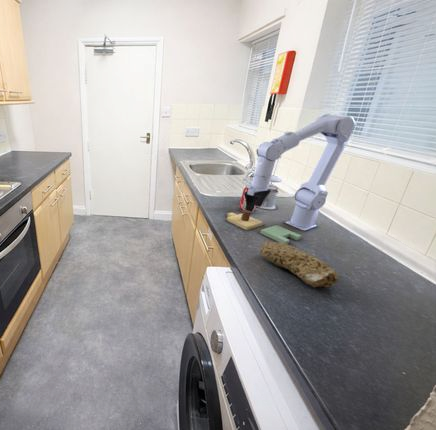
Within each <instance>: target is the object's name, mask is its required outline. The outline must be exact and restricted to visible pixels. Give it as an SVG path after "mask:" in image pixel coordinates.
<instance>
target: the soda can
mask: <svg viewBox="0 0 436 430" xmlns="http://www.w3.org/2000/svg"><path fill="white" fill-rule="evenodd" d="M248 189H250V186H248V184H247V185H245V187H244V188H243V190H242V193H241V198H240V202H239V207H238V209H239V210H240V211H241V213H243V210H246V199H245V196H244V193H245V192H246V191H247V192H248ZM256 209H257V206H255V207H254V209H253V211H252V212H251V214H252V213H254V212H255V211H256Z"/></svg>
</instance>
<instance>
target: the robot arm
mask: <svg viewBox="0 0 436 430" xmlns="http://www.w3.org/2000/svg"><path fill="white" fill-rule="evenodd" d="M356 126H357V123H356V121H355V118H354V117H353V116H351V115H346V116H345V115H336V114H335V115H334V114H330V113H326V114H323V115H322V116H319V117H317V118H316V120H315V121H313V122H311V123H310V124H308V125H306V126H305V127H302V128H301V129H299V130H297V131H296V132H294V131H285V132H284V134H283V135H280V136H279V137H275V138H273V139H272V140H271V141H264V142H262V143H261V144H260V145H258V147H257V148H256V150H255V152H256V153H255V154H256V155H257V158H256V160H257V162H256V166H255V169H254V173H253V178H252V180H251V181H252V182H251V183H248V184H247V185H248V186H250V189H248V192H247V191H246V192H245V193H244V196H245V199H246V210H248V211H251V212H252V211H253V209H254V207H255V206H256V207H257V206H259V207H261V205H262V203H263V202H264V200H265V198H266V197H267V195H268V194H269V193H270V192H271V190H269V189H268V188H269V185H271V182H270V178H271V175H272V174H273V171H274V169H275V164H276V161H278V159H281V158H280V156H281V157H282V155H283V154H284V153H285V152H288V151H290V150H292V149H294V148H296V147H298V146H299V145H300V142H302V141H303V140H306V139H308V138H311V137H313V136H315V135H317V134H321V135H322V136H323V137H325V139H326V142H327V144H326V146H325V147H324V150H323V152H322V154H321V155H320V157H319V160H318V162H317V164H316V166H315V168H314V170H313V172H312V173H311V175H310V177H309V179H308V181H305V182H303V183H301V184H300V187H298V189H297V190H296V191H295V193H294V195H293V198H294V201H295V202H294V203H295V207H294V210H293V213H292V215H291V217H290V218H291V219H290V220H287V221H285V224H287V225H289V226H291V227H294V228H297V229H298V230H301V231H303V232H304V231H308V230H311V229H314V228H315V227H317V224H316V221H317V219H318V217H319V214H320V209H321V208H322V207H323V206H324V205H325V204H326V201H327V196H328V194H329V191H328V190H327V188H326V183H327V181H328V180H329V178H330V176H331V174H332V173H333V170H334V168H335V166H336V164H337V163H338V161H339V160H340V157H341V155H342V154H343V152H344V150H345V148H346V146H347V144H348V142H349V140H350V138H351V136H352V134H353V132H354V130H355V129H356ZM259 207H258V208H259ZM252 213H253V212H252Z"/></svg>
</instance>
